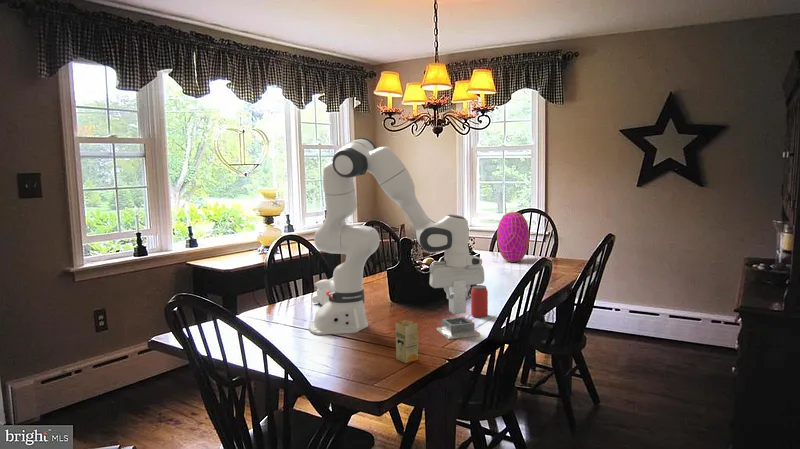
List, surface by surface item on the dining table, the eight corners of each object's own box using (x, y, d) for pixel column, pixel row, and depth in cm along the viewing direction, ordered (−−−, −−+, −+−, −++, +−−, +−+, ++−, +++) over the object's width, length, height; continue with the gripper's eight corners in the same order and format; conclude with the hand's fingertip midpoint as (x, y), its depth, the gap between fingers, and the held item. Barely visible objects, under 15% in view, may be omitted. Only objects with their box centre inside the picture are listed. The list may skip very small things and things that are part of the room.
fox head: (319, 282, 261) (295, 289, 243) (349, 271, 255) (326, 277, 236) (328, 310, 260) (305, 318, 242) (358, 299, 254) (337, 308, 235)
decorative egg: (527, 258, 350) (527, 210, 347) (530, 264, 331) (531, 213, 328) (496, 258, 353) (496, 210, 349) (497, 264, 334) (497, 214, 330)
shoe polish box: (408, 355, 183) (407, 319, 182) (418, 359, 179) (417, 322, 178) (396, 358, 180) (395, 322, 179) (405, 363, 176) (405, 325, 175)
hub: (449, 339, 198) (449, 327, 197) (436, 329, 209) (436, 318, 209) (480, 335, 202) (480, 323, 201) (466, 326, 213) (465, 315, 212)
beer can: (475, 318, 223) (474, 289, 221) (468, 314, 229) (468, 285, 228) (490, 317, 224) (490, 287, 223) (483, 313, 231) (483, 284, 229)
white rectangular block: (453, 314, 201) (453, 281, 200) (448, 310, 206) (448, 278, 204) (465, 312, 203) (465, 279, 201) (460, 309, 207) (460, 277, 206)
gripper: (432, 263, 196) (433, 302, 197) (486, 259, 202) (486, 297, 203) (426, 260, 202) (427, 298, 203) (478, 256, 208) (478, 293, 209)
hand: (457, 297), depth 203 cm, fingers closed on white rectangular block, 5 cm apart
